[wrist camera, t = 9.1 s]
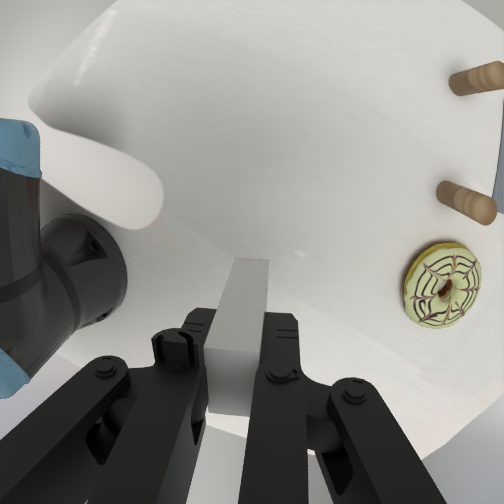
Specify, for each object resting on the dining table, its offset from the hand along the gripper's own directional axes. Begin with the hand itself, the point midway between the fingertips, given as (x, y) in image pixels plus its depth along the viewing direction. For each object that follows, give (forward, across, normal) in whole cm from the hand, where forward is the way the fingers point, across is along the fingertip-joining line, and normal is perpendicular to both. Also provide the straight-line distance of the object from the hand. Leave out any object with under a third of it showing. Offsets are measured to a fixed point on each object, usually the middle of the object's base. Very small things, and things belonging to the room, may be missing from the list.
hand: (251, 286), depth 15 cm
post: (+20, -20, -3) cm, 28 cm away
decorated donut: (+20, -21, +8) cm, 30 cm away
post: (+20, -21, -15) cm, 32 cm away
